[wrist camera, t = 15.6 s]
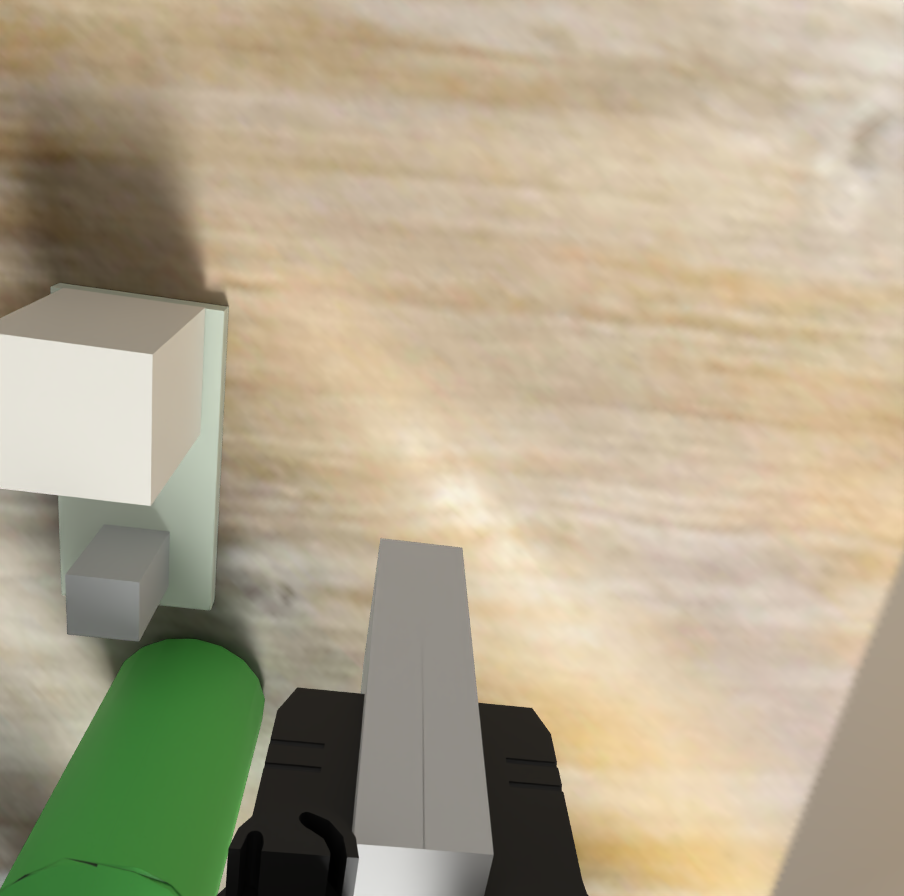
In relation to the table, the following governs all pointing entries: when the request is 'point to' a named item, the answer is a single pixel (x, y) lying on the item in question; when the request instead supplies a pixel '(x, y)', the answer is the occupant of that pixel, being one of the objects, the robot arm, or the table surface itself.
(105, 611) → the rack
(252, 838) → the robot arm
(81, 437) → the white square column
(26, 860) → the bottle
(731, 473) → the table surface
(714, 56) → the table surface
